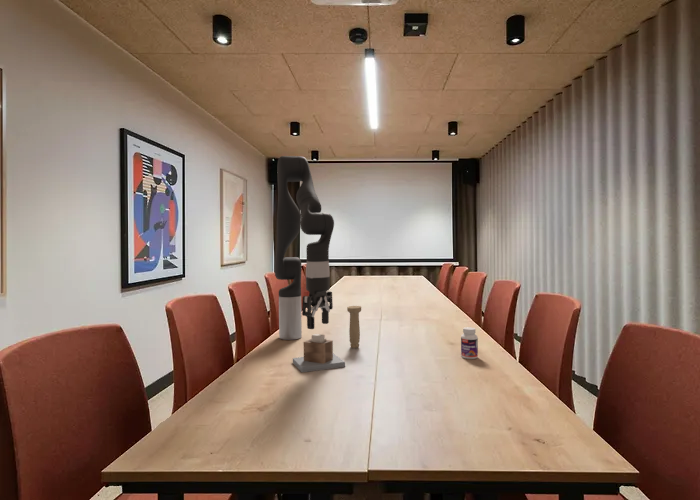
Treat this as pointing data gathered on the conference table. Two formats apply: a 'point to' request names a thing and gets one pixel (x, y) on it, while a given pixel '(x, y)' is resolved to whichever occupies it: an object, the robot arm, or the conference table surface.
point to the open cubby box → (318, 351)
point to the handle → (354, 325)
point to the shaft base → (312, 366)
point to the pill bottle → (469, 343)
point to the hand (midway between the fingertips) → (318, 326)
